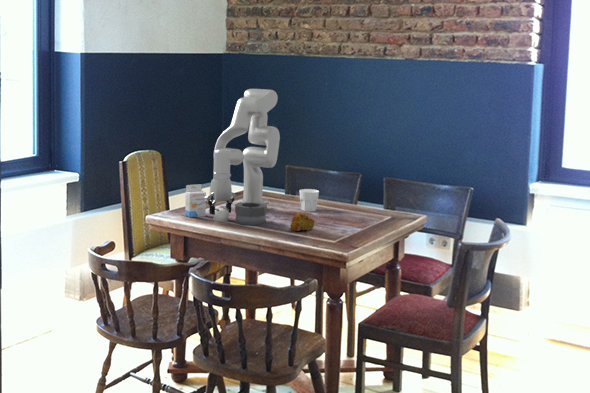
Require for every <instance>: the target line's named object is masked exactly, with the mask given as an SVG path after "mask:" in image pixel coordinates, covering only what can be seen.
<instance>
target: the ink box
mask: <svg viewBox="0 0 590 393" xmlns="http://www.w3.org/2000/svg"><path fill="white" fill-rule="evenodd" d="M202 186H203V184H202V183H201V184H199V183H198V184H187V185H185V209H184V210H185V213H184V214H185V216H186V217H188V218H199V217H206V213H207V212H206V211H207V210H206V209H207V208H206V205H207V201H206V198H205V197H206V196H207V192H206V191H203V190H202Z"/></svg>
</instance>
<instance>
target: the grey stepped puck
mask: <svg viewBox="0 0 590 393" xmlns="http://www.w3.org/2000/svg"><path fill="white" fill-rule="evenodd" d="M267 205H268V204H263V203H258V202H243V201H242V202H237V203H235V205H234V213H235V223H236V224H238V225H242V226H262V225H264V224H266V221H267V209H268V207H267Z"/></svg>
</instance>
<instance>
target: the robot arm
mask: <svg viewBox="0 0 590 393" xmlns="http://www.w3.org/2000/svg"><path fill="white" fill-rule="evenodd" d="M278 99H279V98H278V94H277V92H276V91H275V90H273V89H265V88H263V89H262V88H248V89H246V90H245V91H244V93H243V97H240V98H239V99H238V100H237V101H236V104H235V109H234V112H233V116H232V119H231V122H230V125H229V126H228V127H227V128H226V129H225V130H223V131H222V133H221V134H220V136H219V137H218V138H217V140H216V143H215V146H214V150H213V174H212V175H213V178H212V179H211V181H210V182H211V183H210V186H209V194H206V197H205V198H206V204H208V206H209V210H208V211H209V215H213V216H214V215H215V209H216V206H215V205H216V203H217V202H218V203H219V202H225V207H226V208H228V209H229V214H231V213H232V205H233V204H234V203H233V202H234V201H235V199H236V196H237V194H236V193H235V192H233V190H232V181H231V177H232V173H231V165H232V166H238V165H241V164H242V163H243V196H242V197H243V198H242V202H258V203H263V204H266V205H269V204H270V201H269V200H264V199H263V186H264V174H263V171H262V169H261V168H269V169H271V168H274V167H275V166H276V164H277V160H278V157H279V156H278V155H279V147H280V140H281V137H280V131H279V129H278V128H277V127H276V126H271V125H268V113H269V111H271V110H273V109H274V107H276V105H277V103H278ZM246 133H248V136H247V138H248V142H249V143H250V144H253V145H258V146H247V147H246V148H244V149H243V151H242V150H241V149H238V148H232V147H226V146H227V145H228V143H229V142H231V141H232V140H233V139H234V138H237V137H239V136H242V135H244V134H246ZM259 146H266V147H259Z"/></svg>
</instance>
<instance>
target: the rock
mask: <svg viewBox="0 0 590 393" xmlns="http://www.w3.org/2000/svg"><path fill="white" fill-rule="evenodd" d="M314 226H315V220H314V219H313V218H312V217H309V215H307V214H305V213H300V212H297V213H295V214H294V215H293V217H292V220H291V222H290V226H289V227H290V230H291V231H293V232H295V231H297V232H299V231H306V232H309V231H310V230H311V229H314Z"/></svg>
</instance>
